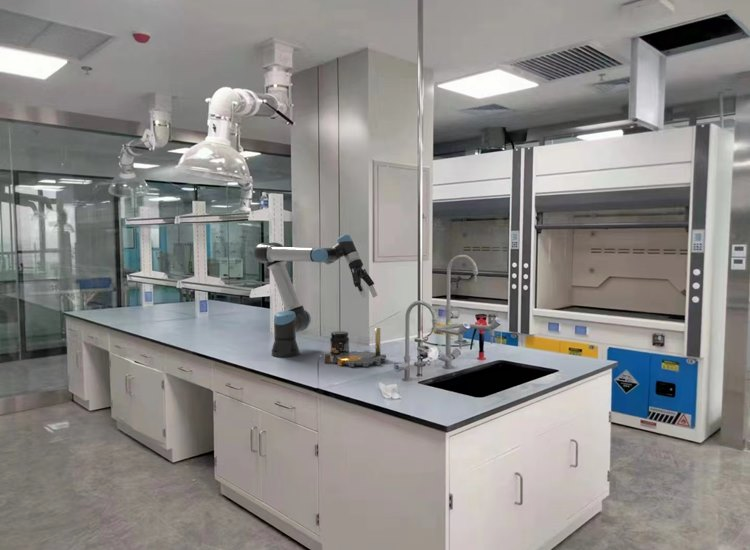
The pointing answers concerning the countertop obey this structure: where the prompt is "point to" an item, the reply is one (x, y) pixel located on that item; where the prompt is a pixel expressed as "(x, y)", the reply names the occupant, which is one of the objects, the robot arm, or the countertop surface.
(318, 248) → the robot arm
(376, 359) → the turntable
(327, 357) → the index mark
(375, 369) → the countertop surface
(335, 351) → the supplement container
